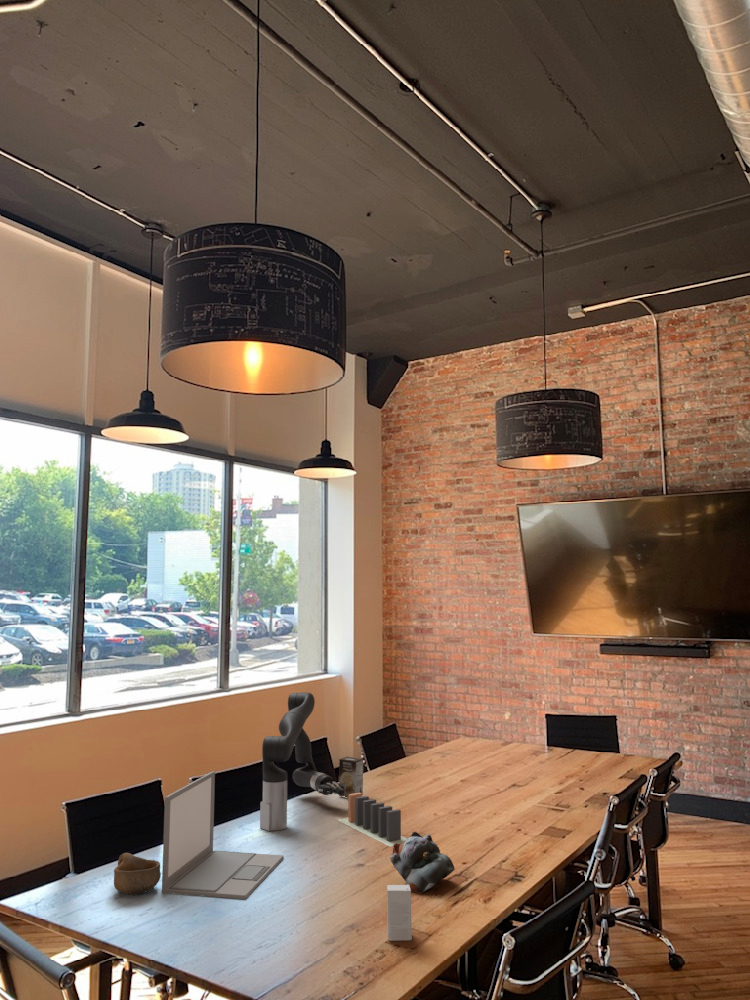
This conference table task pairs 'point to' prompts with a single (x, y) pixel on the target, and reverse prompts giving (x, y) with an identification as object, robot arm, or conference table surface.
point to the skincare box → (399, 912)
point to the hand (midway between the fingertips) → (342, 792)
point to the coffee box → (351, 775)
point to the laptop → (205, 849)
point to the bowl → (136, 874)
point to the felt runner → (368, 832)
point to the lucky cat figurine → (420, 862)
